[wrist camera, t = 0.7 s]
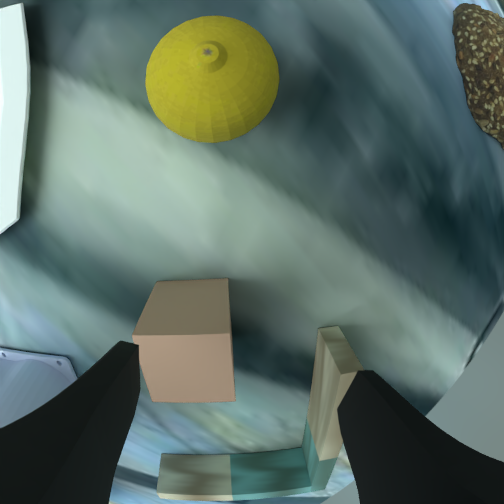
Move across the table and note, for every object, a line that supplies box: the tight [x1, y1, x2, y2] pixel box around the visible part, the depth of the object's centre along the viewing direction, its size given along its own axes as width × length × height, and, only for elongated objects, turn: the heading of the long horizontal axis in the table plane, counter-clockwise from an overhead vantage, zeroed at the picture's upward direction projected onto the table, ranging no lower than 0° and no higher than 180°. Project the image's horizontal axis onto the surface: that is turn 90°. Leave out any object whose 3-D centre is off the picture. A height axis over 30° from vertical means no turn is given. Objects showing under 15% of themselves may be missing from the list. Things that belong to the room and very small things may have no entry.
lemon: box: [145, 16, 279, 143], centre depth 11 cm, size 6×6×8 cm
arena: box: [157, 326, 364, 501], centre depth 20 cm, size 16×17×5 cm
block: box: [132, 278, 236, 403], centre depth 16 cm, size 4×4×6 cm
